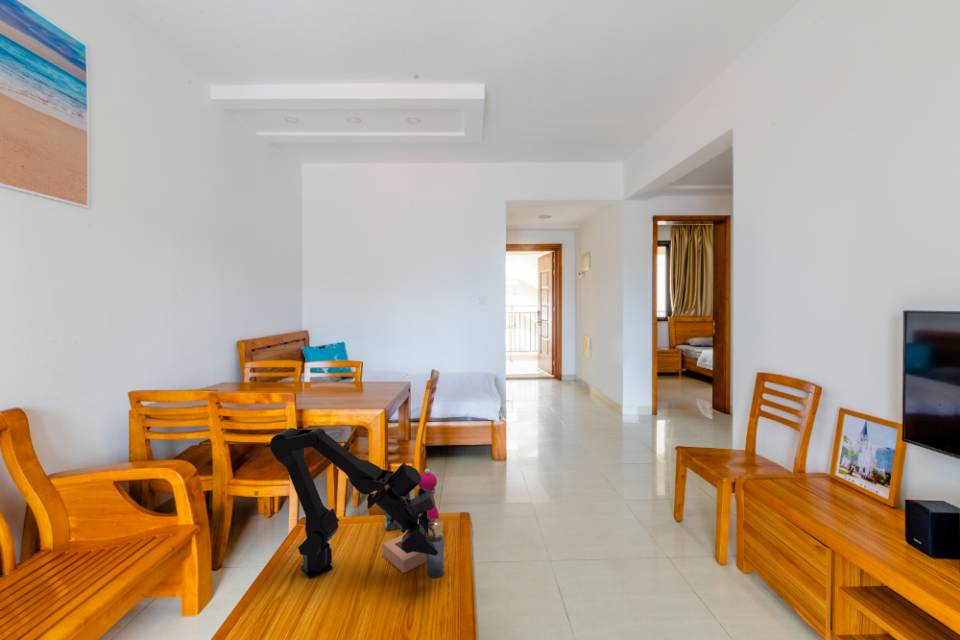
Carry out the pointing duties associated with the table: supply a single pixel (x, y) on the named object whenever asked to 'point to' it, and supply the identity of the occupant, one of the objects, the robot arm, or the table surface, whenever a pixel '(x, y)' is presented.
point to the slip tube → (435, 537)
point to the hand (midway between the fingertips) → (437, 544)
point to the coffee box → (393, 525)
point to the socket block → (402, 555)
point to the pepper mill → (429, 483)
